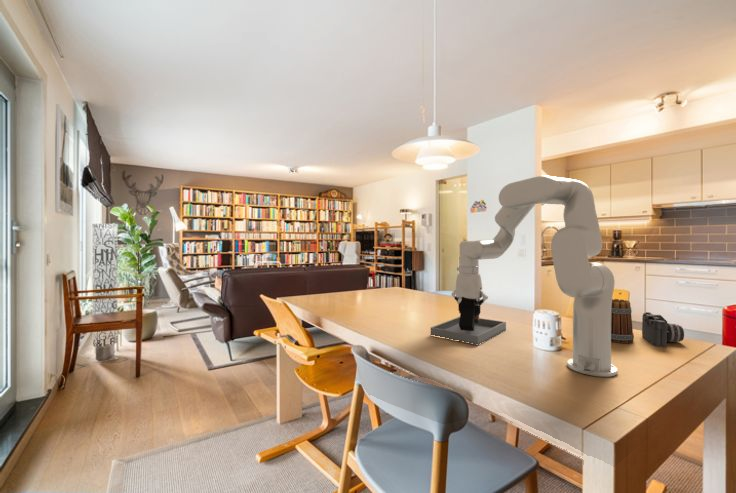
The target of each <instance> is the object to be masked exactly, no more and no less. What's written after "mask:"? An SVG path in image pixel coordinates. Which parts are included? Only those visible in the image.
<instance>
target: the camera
mask: <svg viewBox="0 0 736 493" xmlns="http://www.w3.org/2000/svg"><path fill="white" fill-rule="evenodd" d="M641 321H642V322H641V323H642V324H641V335H642V338H644V339H645V340H646V341H648V342H649V343H651V344H652V345H653V346H655V347H658V348H659V347H660V348H667V347H668V343H679V342H682V341H684V338H685V331H684V329H683V326H681V325H680V324H676V323H670V322H668V320H666V319H665V318H664V317H663V316H662V315H661V314H653V313H651V312H649V311H647V312H644V313H642V320H641ZM667 342H668V343H667Z"/></svg>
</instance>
